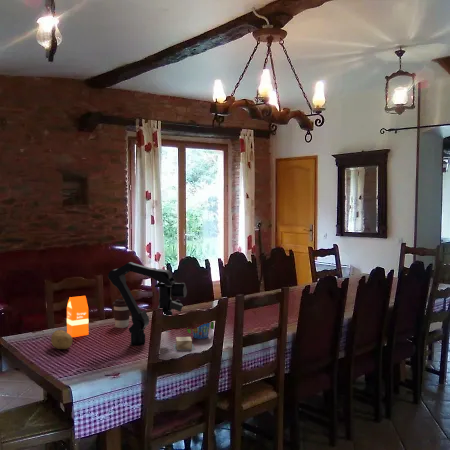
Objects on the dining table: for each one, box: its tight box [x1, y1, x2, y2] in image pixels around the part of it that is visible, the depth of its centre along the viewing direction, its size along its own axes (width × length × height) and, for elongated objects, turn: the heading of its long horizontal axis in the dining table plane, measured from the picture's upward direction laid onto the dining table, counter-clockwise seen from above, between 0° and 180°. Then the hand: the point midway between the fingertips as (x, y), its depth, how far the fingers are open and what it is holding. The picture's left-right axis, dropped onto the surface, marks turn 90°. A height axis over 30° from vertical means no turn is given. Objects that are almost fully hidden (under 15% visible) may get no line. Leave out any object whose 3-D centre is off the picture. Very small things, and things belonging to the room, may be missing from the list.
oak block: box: [175, 336, 193, 350], centre depth 241 cm, size 7×7×4 cm
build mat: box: [172, 343, 196, 352], centre depth 241 cm, size 10×10×1 cm
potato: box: [50, 329, 73, 350], centre depth 238 cm, size 10×14×8 cm
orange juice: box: [66, 295, 89, 338], centre depth 263 cm, size 8×9×20 cm
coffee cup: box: [112, 298, 131, 329], centre depth 281 cm, size 10×10×15 cm
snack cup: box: [186, 321, 215, 340], centre depth 260 cm, size 16×10×10 cm
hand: (165, 328), depth 245 cm, fingers closed on blue cube, 5 cm apart
